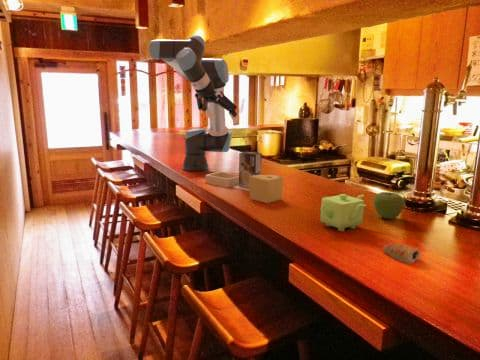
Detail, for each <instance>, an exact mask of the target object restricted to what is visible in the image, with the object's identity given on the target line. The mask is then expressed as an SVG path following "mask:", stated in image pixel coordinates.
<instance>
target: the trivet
mask: <svg viewBox="0 0 480 360" xmlns="http://www.w3.org/2000/svg"><path fill="white" fill-rule="evenodd" d="M232 188H233V189H236V190H241V191H245V192H249V188H247V187H239V185H236V186H232Z"/></svg>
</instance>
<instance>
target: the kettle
mask: <svg viewBox="0 0 480 360" xmlns="http://www.w3.org/2000/svg"><path fill="white" fill-rule="evenodd" d="M364 196H365V195H364V194H359V195H357V197H354V196H351V195H348V194H347V193H346V194H345V193H341V194H338V195H333V196H332V195H331V196H326V197H325V196H324V197H322V198H321V206H320V207H321V208H319V209H320V210H319V211H320V223H321V222H322V223H325V226H326V227H333V228H337V231H338V232H345V231H346V230H345V229H346V228H350V229H356V228H357V227H356V226H359V225H362V224H363V220H364V210H365V207H367V205H366V204H365V200H363V199H362V198H363V197H364Z"/></svg>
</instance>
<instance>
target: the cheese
mask: <svg viewBox="0 0 480 360" xmlns="http://www.w3.org/2000/svg"><path fill="white" fill-rule="evenodd" d="M283 181H284V178H283V177H282V176H279V175H276V174H275V175H274V174H268V175H267V174H266V175H265V174H261V175H253V176H250V179H249V191H248V193H249V200H253V201H256V202H261V203H263V204H271V203H273V202H277V201H281V200H282V197H283V187H284V184H283Z"/></svg>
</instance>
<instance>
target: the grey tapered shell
mask: <svg viewBox="0 0 480 360" xmlns="http://www.w3.org/2000/svg"><path fill="white" fill-rule="evenodd" d="M382 248H383V251H384V254H386V255H387V256H389V257H390V258H391V259H395V260H396V261H399V262H402V263H404V264H413V263H414V262H416V261H417V260H419V259H420V258H421V254H420V253H421V252H420V250H419V249H418V248H414V247H412V246H410V245H407V244H400V243H399V244H397V243H395V244H394V243H393V244H392V243H390V244H386V245H383V247H382Z"/></svg>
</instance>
